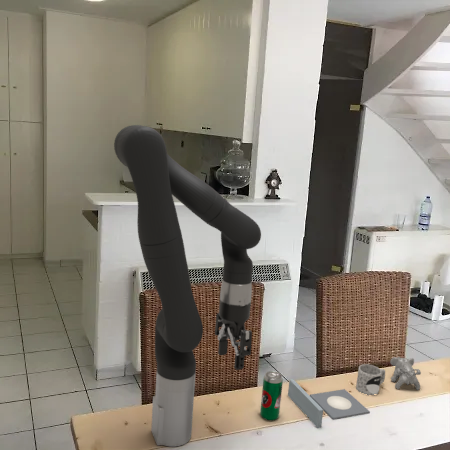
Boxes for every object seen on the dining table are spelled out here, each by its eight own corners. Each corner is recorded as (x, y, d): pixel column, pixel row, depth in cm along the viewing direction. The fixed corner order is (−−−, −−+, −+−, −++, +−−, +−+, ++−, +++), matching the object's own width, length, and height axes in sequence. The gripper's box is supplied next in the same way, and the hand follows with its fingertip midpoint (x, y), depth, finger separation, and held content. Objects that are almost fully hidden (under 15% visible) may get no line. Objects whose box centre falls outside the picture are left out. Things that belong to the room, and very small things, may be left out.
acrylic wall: (317, 427, 130) (319, 410, 129) (287, 395, 145) (289, 379, 144) (321, 427, 131) (323, 409, 130) (291, 394, 145) (293, 379, 144)
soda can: (277, 423, 131) (282, 381, 128) (258, 419, 132) (262, 378, 129) (279, 412, 136) (284, 372, 133) (261, 409, 137) (265, 369, 134)
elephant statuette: (400, 394, 151) (406, 372, 149) (376, 373, 161) (380, 351, 159) (425, 391, 154) (430, 369, 152) (399, 370, 165) (403, 349, 163)
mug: (367, 397, 147) (370, 377, 145) (351, 386, 152) (354, 366, 151) (391, 390, 152) (394, 370, 150) (374, 380, 157) (377, 360, 156)
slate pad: (332, 419, 134) (333, 417, 134) (309, 396, 145) (309, 394, 145) (369, 413, 139) (369, 411, 139) (344, 390, 150) (344, 388, 150)
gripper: (208, 291, 126) (204, 352, 128) (236, 309, 113) (230, 376, 116) (234, 288, 129) (230, 348, 132) (264, 306, 117) (258, 372, 120)
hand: (230, 361), depth 124 cm, fingers open, 8 cm apart
